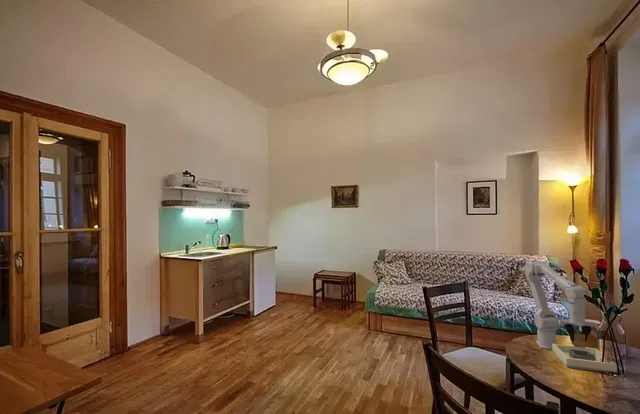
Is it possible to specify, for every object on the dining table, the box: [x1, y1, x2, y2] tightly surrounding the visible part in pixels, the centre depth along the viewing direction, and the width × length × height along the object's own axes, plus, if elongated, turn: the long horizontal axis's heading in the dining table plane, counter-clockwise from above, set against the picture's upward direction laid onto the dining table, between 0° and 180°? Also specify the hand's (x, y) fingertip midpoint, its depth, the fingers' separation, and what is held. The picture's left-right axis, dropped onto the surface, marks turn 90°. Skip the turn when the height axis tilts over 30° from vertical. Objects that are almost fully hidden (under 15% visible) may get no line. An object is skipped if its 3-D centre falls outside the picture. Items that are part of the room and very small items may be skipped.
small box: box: [579, 318, 602, 349], centre depth 166 cm, size 8×6×13 cm
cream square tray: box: [551, 343, 618, 373], centre depth 147 cm, size 18×18×4 cm
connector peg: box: [570, 329, 585, 348], centre depth 148 cm, size 4×4×7 cm
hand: (578, 341), depth 148 cm, fingers closed on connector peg, 4 cm apart
